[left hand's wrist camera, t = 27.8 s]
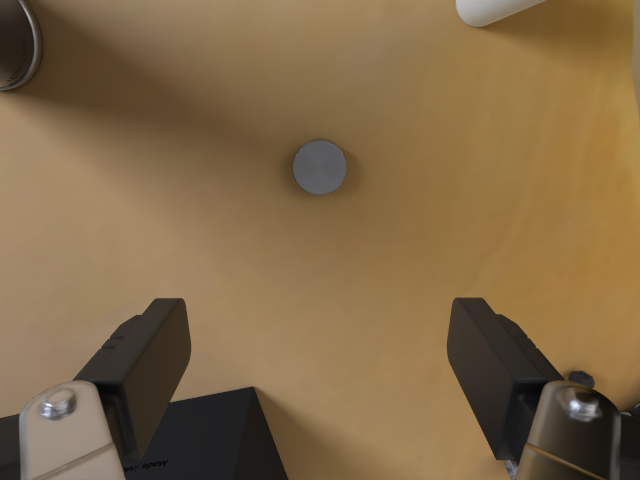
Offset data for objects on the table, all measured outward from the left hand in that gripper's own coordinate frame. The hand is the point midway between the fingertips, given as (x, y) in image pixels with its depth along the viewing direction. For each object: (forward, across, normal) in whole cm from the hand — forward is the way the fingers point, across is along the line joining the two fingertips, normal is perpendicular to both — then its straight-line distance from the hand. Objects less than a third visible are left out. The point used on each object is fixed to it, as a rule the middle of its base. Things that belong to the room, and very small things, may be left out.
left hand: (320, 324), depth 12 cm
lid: (+27, 0, 0) cm, 27 cm away
